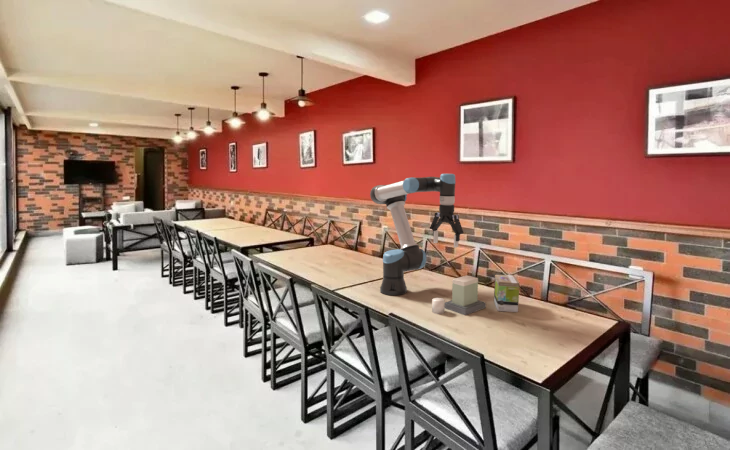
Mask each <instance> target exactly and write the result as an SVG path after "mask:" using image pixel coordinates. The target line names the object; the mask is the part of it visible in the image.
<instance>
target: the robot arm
mask: <svg viewBox="0 0 730 450" xmlns="http://www.w3.org/2000/svg"><path fill="white" fill-rule="evenodd" d="M428 192H430V193H431V192H435V193H436V192H437V193H438V192H439V207H438V209H439V212H437V211H436V212H434V217H433V219H432V220H431V221H432V222H431V224H430V227H429V229H430V230H432V237H433V242H432V243H433V244H437V243H439V228H440V227H441V225H442V224H443V223H447V224H449V226H450V228H451V229H452V231H453V233H454V235H453V248H454V249H456V248H459V242H460V240H461V239H460V238H461V235H462V234H464V230H463V227H462V224H461V221H460V215H459V214H454V213H455V202H456V201H455V198H456V195H455V194H456V174H454V173H441V174H440V176H439V177H438V176H426V177H425V176H423V177H414V176H413V177H406V178H405V179H404V180H400V181H397V182H393V183H390V184H378V185H375V186H373V187H372V188H371V190H370V193H369V196H370V197H369V198H370V199H371V201H372V202H373V203H374V204H377V205H385V206H386V209H387V210H389V211H390V214H391V218H392V221H393V225H394V227H395V231H396V235H397V239H398V241H399V244H400V248H398V249H390V250H387V251H385V252H384V253H383V257H382V263H383V264H382V271H383V272H382V273H383V274H382V277H383V278H382V282H381V285H380V289H379V291H380V293H381V294H384V295H387V296H400V295H404V294H406V293H407V292H408V290H407V289H408V287H407V285H406V284H407V283H406V281H405V273H406V272H411V271H418V270H420V269H423V268H424V267H425V265H426V264H427V254H426V251H425V250H424V249H423V248H420V246H419V244H418V243H416V242H415V239H414V235H413V232H412V228H411V225H410V222H409V219H408V215H407V213H406V209H405V208H406V207H405V205H406V201H407V196H408V195H409V194H415V193H428Z"/></svg>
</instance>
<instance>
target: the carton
mask: <svg viewBox="0 0 730 450" xmlns="http://www.w3.org/2000/svg"><path fill="white" fill-rule="evenodd" d="M451 282H452V285H451V286H452V287H451V291H452V292H451V300H452V303H455V304H458V305H461V306H466V305H469V304H472V303H475V302H477V300H479V298H478V297H479V296H478V295H479V294H478V293H479V291H478V289H479V288H478V287H479V278H478V277H476V276H475V277H474V276H471V275H463V276H459V277H456V278H452V281H451Z"/></svg>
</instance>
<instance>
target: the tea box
mask: <svg viewBox="0 0 730 450" xmlns="http://www.w3.org/2000/svg"><path fill="white" fill-rule="evenodd" d="M493 288H494V290H493V292H494V293H493V303H494V305H495V309H496V310H497V311H498V312H508V313H509V312H510V313H518V312H519V299H520V296H519V295H520V282H519V280H518V279H517V277H516V276H515V275H510V274H495V275H494V287H493Z"/></svg>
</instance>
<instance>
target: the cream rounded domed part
mask: <svg viewBox="0 0 730 450" xmlns="http://www.w3.org/2000/svg"><path fill="white" fill-rule="evenodd" d="M445 303H446V301H445V298H443V297H434V298H432V299H431V312H432V313H433V314H435V315H436V314H437V315H442V314H445V311H446V308H445Z"/></svg>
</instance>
